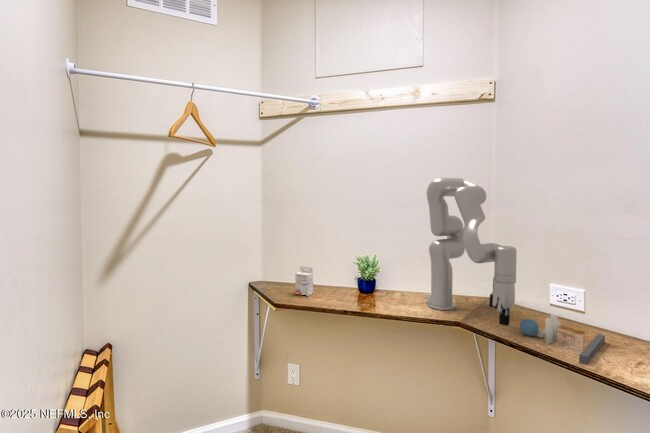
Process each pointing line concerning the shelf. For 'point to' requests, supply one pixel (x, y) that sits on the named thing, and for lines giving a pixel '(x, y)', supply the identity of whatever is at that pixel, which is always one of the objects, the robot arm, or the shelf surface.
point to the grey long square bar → (591, 349)
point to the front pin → (555, 326)
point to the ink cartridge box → (304, 281)
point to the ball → (529, 327)
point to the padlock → (492, 297)
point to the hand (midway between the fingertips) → (504, 324)
